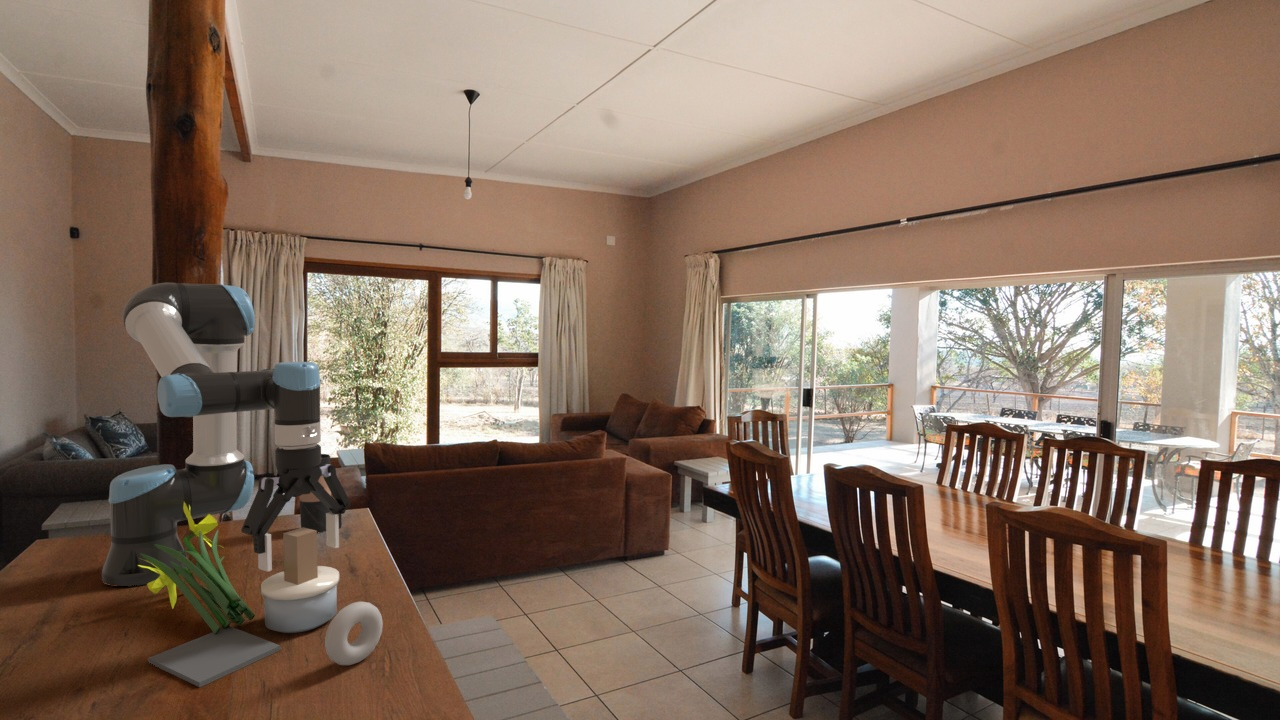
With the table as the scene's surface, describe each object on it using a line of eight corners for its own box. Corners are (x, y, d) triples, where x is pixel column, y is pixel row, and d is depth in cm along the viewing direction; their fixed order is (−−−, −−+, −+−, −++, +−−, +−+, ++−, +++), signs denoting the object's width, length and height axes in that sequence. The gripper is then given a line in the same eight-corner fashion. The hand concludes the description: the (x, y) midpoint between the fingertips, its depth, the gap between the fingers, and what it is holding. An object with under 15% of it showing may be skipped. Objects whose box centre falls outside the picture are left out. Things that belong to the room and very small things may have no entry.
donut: (374, 646, 113) (374, 590, 112) (387, 652, 111) (386, 595, 110) (320, 672, 104) (319, 612, 104) (333, 679, 102) (332, 617, 102)
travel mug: (318, 535, 170) (317, 460, 169) (293, 533, 172) (292, 458, 171) (337, 526, 178) (336, 454, 177) (313, 524, 179) (312, 453, 178)
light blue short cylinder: (250, 627, 119) (249, 590, 119) (310, 602, 130) (309, 568, 129) (292, 643, 113) (291, 604, 113) (350, 615, 124) (350, 580, 124)
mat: (148, 662, 106) (147, 658, 106) (229, 629, 118) (228, 625, 118) (199, 687, 100) (199, 682, 99) (280, 650, 111) (280, 645, 111)
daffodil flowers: (162, 657, 108) (105, 561, 129) (241, 666, 120) (177, 576, 140) (227, 565, 113) (162, 486, 133) (297, 582, 124) (227, 507, 144)
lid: (245, 590, 118) (244, 536, 118) (310, 567, 130) (309, 517, 129) (290, 605, 112) (289, 548, 112) (354, 580, 124) (353, 527, 123)
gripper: (242, 459, 107) (245, 585, 108) (368, 436, 129) (370, 541, 130) (216, 455, 110) (219, 576, 112) (343, 433, 132) (345, 535, 134)
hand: (300, 557), depth 121 cm, fingers open, 13 cm apart
